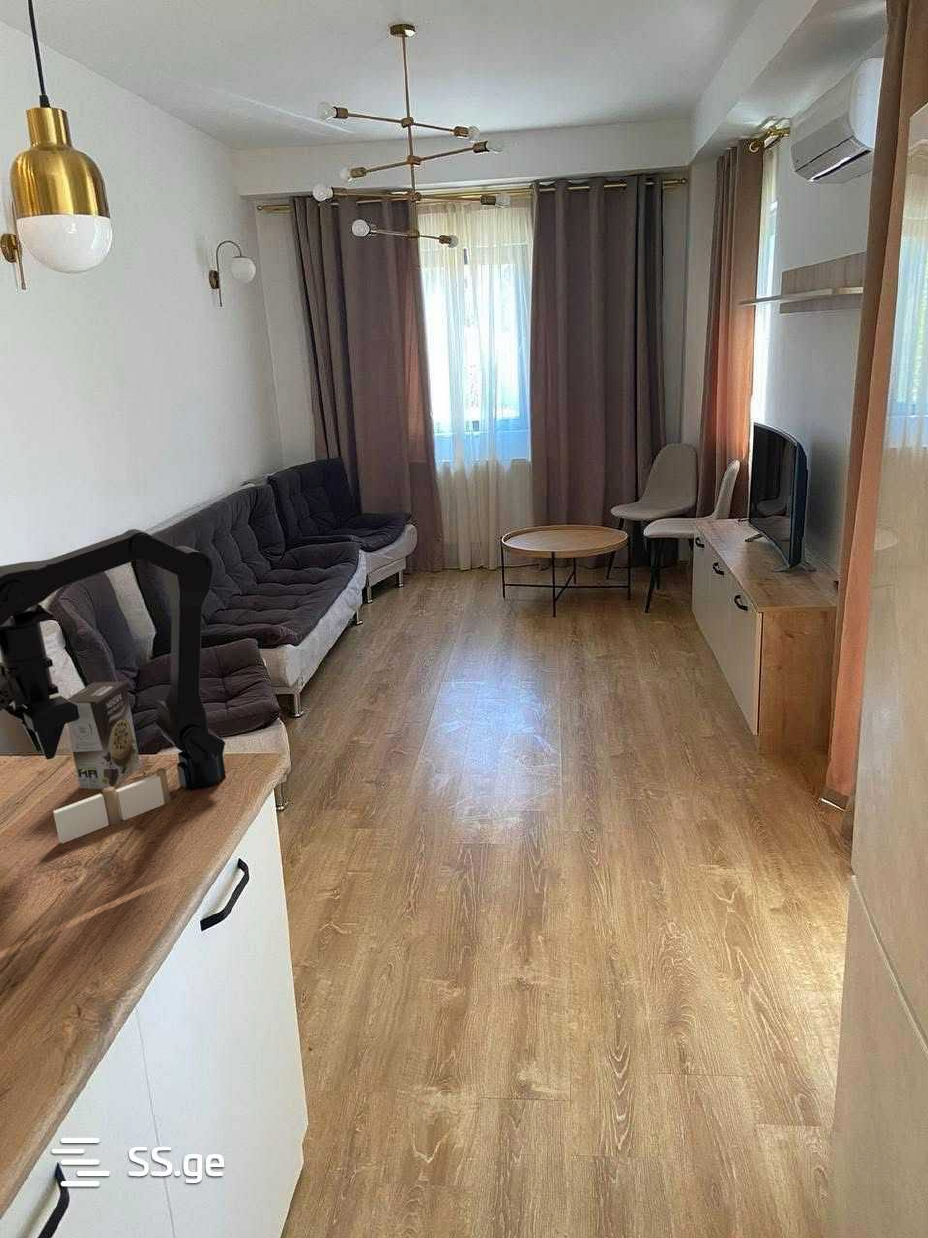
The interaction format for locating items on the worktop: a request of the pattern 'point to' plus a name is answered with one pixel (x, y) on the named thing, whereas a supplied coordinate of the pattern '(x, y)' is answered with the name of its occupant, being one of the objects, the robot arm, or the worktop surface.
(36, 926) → the worktop surface
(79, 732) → the coffee box
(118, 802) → the fence post and panel
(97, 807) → the fence gate panel
